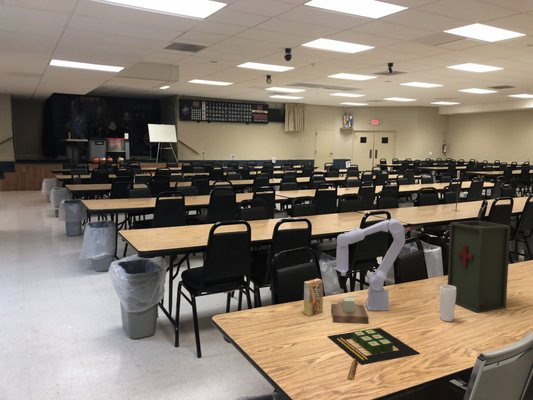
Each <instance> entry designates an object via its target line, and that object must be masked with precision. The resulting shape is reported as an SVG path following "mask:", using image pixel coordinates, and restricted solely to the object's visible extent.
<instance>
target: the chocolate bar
mask: <svg viewBox="0 0 533 400" xmlns="http://www.w3.org/2000/svg"><path fill="white" fill-rule="evenodd" d="M358 364H359V363H358V362H357V361H356V359H353V360H352V361H351V365H350V369H349V371H348V375H347V378H346V379H347V380H350V381H351V380H352V381H355V377H356V373H357V369H358V366H359V365H358Z"/></svg>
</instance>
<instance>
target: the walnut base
mask: <svg viewBox="0 0 533 400" xmlns="http://www.w3.org/2000/svg"><path fill="white" fill-rule="evenodd" d="M330 305H331V306H330V312H331V316H332V321H333V323H344V324H369V315H368V311H367V310H366V308H365V304H354V312H344V309H343V304H341V303H331V304H330Z"/></svg>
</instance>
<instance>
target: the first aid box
mask: <svg viewBox="0 0 533 400" xmlns="http://www.w3.org/2000/svg"><path fill="white" fill-rule="evenodd" d="M510 240H511V225H508V224H507V225H506V224H501V223H495V222H489V221H483V220H468V221H467V220H466V221H453V222H450V223H449V243H448V245H449V247H448V267H447V268H448V271H447V285H451V286H455V287H456V302H455V306H456V305H457V306H459V307H461V308H463V309H465V310H468V311H471V312H474V313H475V314H479V313H486V312H493V311H498V310H503V309H506V308H507V295H508V291H507V290H508V276H509V259H510V257H509V255H510Z"/></svg>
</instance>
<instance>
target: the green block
mask: <svg viewBox="0 0 533 400" xmlns="http://www.w3.org/2000/svg"><path fill="white" fill-rule="evenodd" d="M354 305H355V298H354V297H343V309H344V312H354Z"/></svg>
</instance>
